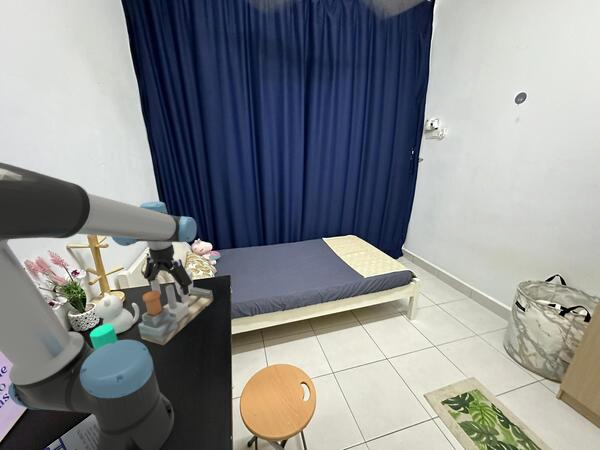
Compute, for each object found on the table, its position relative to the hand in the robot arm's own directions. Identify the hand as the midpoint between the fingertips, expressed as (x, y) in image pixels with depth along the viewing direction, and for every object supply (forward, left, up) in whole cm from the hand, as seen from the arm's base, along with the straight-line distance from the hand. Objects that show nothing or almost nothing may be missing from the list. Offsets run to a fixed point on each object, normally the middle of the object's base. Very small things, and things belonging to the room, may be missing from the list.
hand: (171, 298), depth 93 cm
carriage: (0, 0, -8) cm, 8 cm away
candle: (-20, +8, -11) cm, 24 cm away
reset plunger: (-7, 0, -1) cm, 7 cm away
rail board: (+3, 0, -11) cm, 11 cm away
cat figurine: (-9, +17, -11) cm, 22 cm away
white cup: (+18, +12, -11) cm, 24 cm away
